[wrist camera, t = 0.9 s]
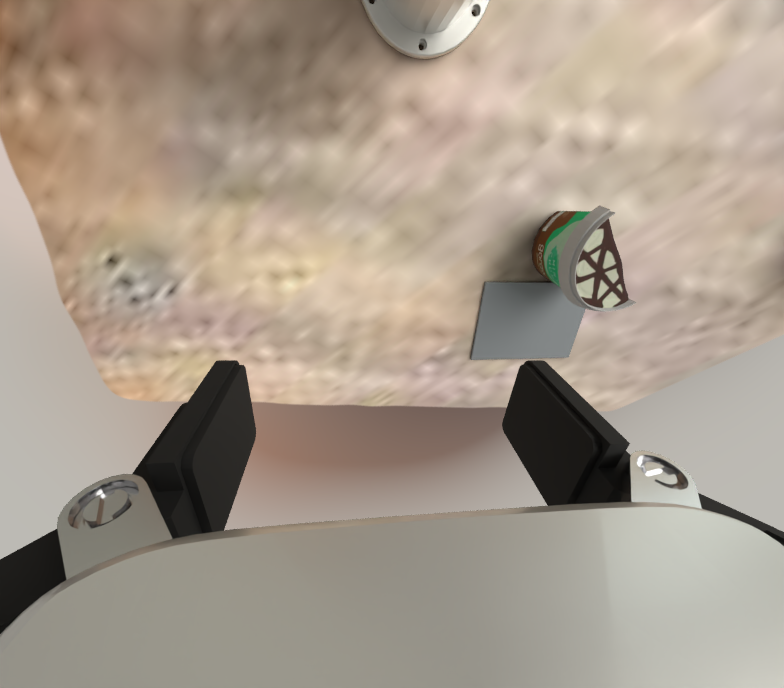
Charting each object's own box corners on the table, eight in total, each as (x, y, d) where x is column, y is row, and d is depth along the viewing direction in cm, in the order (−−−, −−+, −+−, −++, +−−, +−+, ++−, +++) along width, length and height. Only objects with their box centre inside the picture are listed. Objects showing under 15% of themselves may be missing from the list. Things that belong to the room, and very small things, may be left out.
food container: (509, 229, 40) (554, 244, 31) (554, 200, 39) (614, 207, 30) (540, 304, 46) (586, 335, 37) (580, 280, 45) (637, 306, 36)
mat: (484, 281, 43) (486, 282, 43) (592, 282, 45) (594, 283, 45) (470, 358, 48) (471, 359, 48) (566, 356, 51) (568, 357, 50)
